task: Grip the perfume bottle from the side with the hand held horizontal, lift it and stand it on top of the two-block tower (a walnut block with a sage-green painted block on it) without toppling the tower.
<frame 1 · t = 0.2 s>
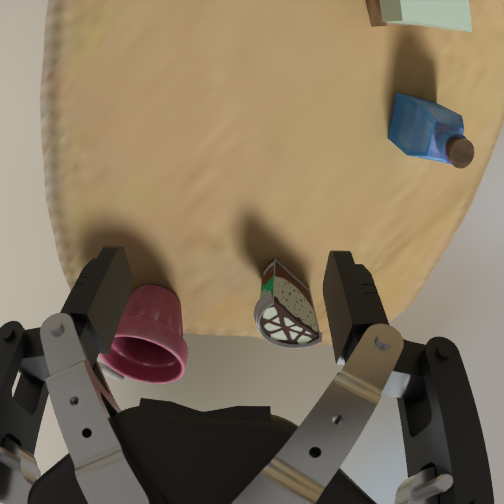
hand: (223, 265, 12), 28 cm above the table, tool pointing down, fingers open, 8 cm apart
food container: (278, 284, 51), on the table
plant pot: (156, 302, 54), on the table
perfume bottle: (412, 119, 34), on the table
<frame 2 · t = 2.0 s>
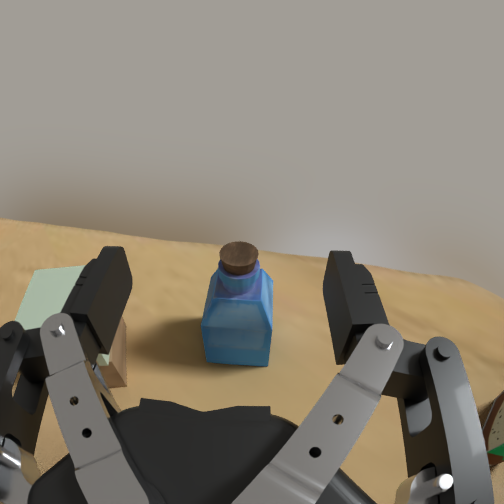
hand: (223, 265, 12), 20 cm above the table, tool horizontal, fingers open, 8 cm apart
tower top block: (76, 331, 27), point 5 cm above the table
food container: (497, 442, 21), on the table
tower base block: (93, 358, 30), on the table
perfume bottle: (239, 341, 33), on the table
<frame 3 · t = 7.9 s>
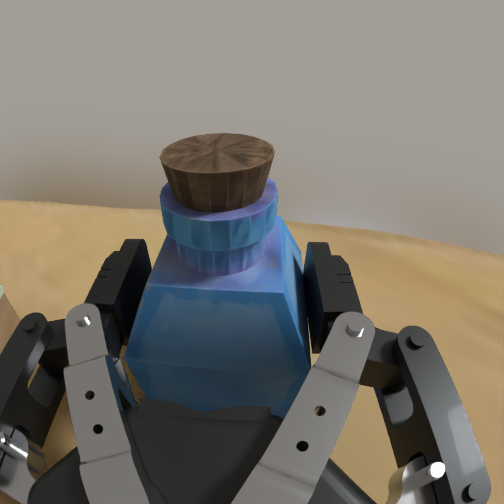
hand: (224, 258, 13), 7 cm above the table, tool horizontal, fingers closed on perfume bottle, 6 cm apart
perfume bottle: (230, 379, 16), on the table, touching gripper
when the fingers open (18 cm above the table, at t = 12.2 s): perfume bottle drops 1 cm, resting on tower top block.
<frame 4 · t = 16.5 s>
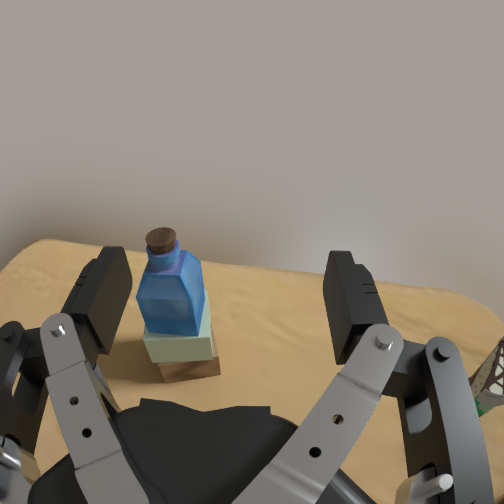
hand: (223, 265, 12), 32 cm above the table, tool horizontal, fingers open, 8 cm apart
tower top block: (182, 337, 42), point 5 cm above the table, touching perfume bottle, tower base block
food container: (474, 405, 35), on the table
tower base block: (189, 357, 45), on the table, touching tower top block
perfume bottle: (177, 315, 39), point 10 cm above the table, touching tower top block
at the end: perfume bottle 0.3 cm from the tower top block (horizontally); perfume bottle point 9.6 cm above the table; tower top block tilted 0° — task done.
